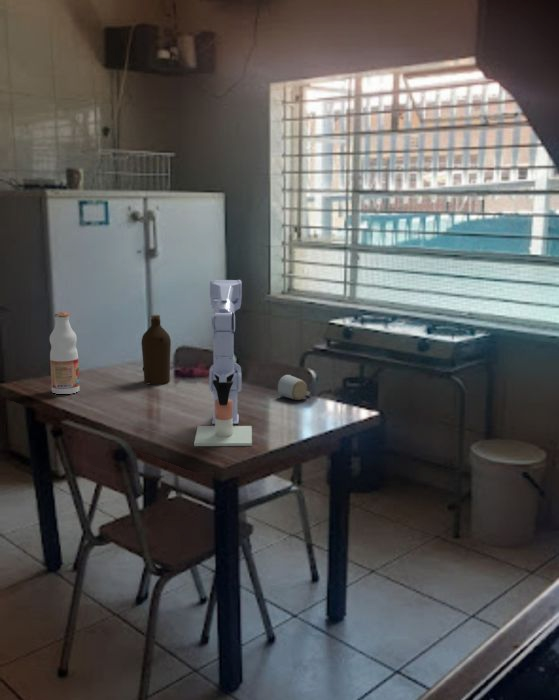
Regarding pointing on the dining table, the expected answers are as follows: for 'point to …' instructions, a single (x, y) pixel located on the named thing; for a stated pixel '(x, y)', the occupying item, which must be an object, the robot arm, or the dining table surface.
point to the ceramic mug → (292, 388)
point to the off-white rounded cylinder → (224, 427)
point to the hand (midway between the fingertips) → (223, 401)
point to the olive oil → (156, 353)
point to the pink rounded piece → (224, 410)
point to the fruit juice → (64, 357)
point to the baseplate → (208, 437)
